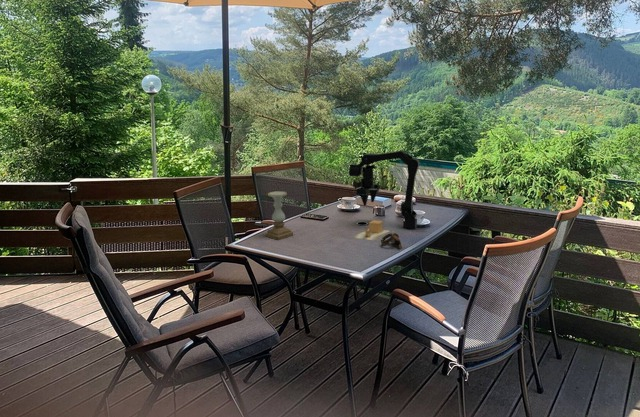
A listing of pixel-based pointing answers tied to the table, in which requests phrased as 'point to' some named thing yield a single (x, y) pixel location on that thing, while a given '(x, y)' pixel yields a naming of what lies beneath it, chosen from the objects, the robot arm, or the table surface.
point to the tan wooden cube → (376, 226)
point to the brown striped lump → (391, 240)
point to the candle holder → (278, 218)
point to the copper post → (367, 232)
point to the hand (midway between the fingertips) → (368, 203)
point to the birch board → (371, 235)
